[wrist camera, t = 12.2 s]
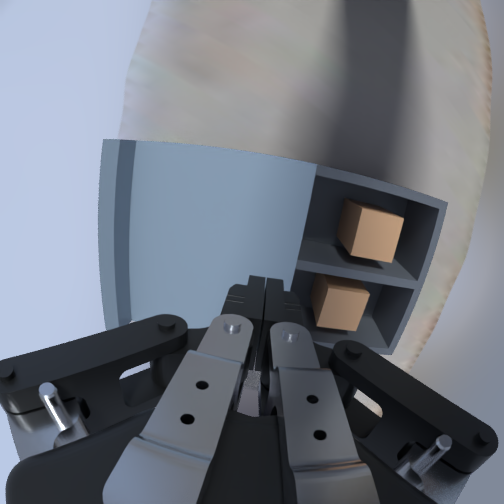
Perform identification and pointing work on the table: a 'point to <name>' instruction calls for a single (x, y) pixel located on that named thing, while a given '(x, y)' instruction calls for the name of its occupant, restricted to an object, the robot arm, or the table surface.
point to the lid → (194, 226)
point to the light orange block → (369, 230)
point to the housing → (367, 270)
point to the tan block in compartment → (338, 301)
